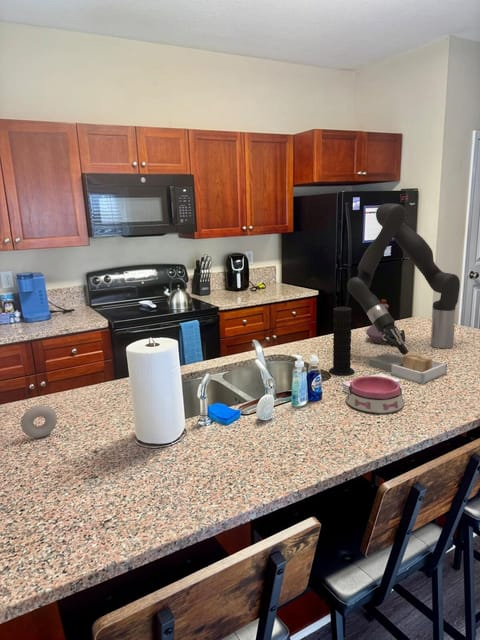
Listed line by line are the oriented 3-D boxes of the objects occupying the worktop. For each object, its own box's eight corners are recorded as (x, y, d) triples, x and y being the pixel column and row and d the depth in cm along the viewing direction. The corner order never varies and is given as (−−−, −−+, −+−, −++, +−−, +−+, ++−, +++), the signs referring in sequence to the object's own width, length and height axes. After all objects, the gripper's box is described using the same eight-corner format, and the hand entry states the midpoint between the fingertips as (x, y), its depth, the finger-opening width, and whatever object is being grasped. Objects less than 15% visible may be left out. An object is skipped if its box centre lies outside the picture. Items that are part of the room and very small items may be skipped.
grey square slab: (387, 359, 187) (387, 352, 186) (412, 366, 177) (413, 359, 177) (369, 365, 180) (369, 358, 179) (394, 373, 170) (394, 366, 170)
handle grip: (331, 376, 170) (357, 375, 170) (331, 309, 164) (358, 308, 164) (326, 367, 180) (351, 366, 180) (327, 304, 174) (352, 303, 173)
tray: (415, 365, 178) (416, 355, 177) (446, 373, 168) (447, 363, 167) (391, 374, 169) (391, 364, 168) (422, 384, 159) (422, 373, 158)
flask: (359, 337, 220) (360, 298, 215) (391, 335, 222) (392, 296, 217) (372, 347, 204) (374, 304, 199) (406, 344, 206) (408, 302, 201)
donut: (24, 444, 129) (18, 412, 127) (22, 439, 132) (17, 408, 129) (60, 434, 134) (55, 403, 132) (58, 429, 137) (53, 399, 134)
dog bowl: (344, 391, 157) (344, 372, 155) (399, 392, 153) (400, 374, 152) (346, 414, 139) (347, 393, 138) (408, 416, 136) (409, 395, 134)
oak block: (411, 353, 173) (432, 358, 165) (410, 367, 174) (431, 374, 167) (403, 356, 170) (424, 361, 163) (402, 370, 171) (423, 377, 164)
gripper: (375, 315, 172) (402, 352, 165) (396, 309, 180) (422, 345, 173) (364, 326, 178) (389, 362, 171) (384, 320, 185) (409, 354, 178)
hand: (405, 353), depth 172 cm, fingers closed
